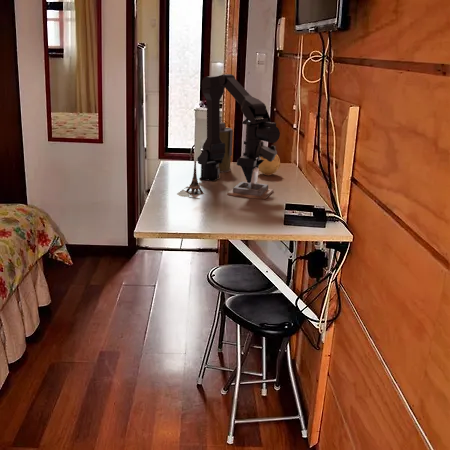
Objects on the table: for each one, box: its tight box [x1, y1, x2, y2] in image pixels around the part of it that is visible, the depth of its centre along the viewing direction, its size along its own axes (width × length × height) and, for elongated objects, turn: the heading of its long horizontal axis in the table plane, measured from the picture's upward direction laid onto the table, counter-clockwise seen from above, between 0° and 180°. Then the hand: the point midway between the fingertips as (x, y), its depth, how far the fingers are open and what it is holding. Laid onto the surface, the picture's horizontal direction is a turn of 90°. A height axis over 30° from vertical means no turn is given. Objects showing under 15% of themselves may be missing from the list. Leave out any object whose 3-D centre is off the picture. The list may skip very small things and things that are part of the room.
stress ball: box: [258, 154, 281, 176], centre depth 234 cm, size 10×10×10 cm
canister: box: [219, 121, 234, 173], centre depth 238 cm, size 11×10×20 cm
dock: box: [226, 181, 274, 200], centre depth 207 cm, size 14×12×3 cm
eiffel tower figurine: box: [176, 160, 205, 200], centre depth 203 cm, size 15×10×13 cm
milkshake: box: [246, 167, 260, 190], centre depth 205 cm, size 4×5×10 cm
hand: (251, 180), depth 206 cm, fingers open, 5 cm apart
